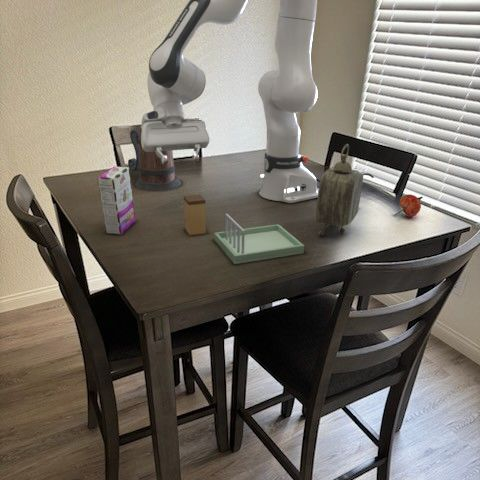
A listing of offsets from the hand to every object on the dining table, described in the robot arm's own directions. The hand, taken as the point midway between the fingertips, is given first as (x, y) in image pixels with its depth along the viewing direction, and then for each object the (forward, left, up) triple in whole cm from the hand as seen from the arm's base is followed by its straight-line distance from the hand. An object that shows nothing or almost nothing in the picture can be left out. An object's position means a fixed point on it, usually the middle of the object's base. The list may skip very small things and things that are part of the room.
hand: (181, 161), depth 141 cm
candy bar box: (+20, +3, -17) cm, 26 cm away
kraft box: (0, +13, -17) cm, 21 cm away
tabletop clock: (-39, +27, -17) cm, 50 cm away
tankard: (+1, -38, -17) cm, 42 cm away
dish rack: (-13, +29, -17) cm, 36 cm away
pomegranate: (-68, +23, -17) cm, 74 cm away
